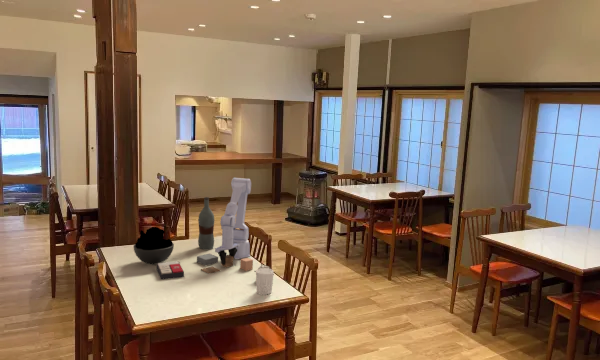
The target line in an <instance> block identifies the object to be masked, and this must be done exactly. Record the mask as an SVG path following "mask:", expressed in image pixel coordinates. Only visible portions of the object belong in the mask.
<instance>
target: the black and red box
mask: <svg viewBox="0 0 600 360" xmlns="http://www.w3.org/2000/svg"><path fill="white" fill-rule="evenodd" d="M156 272H157V274H158V276H159V279H160V280H161V281H162V280H171V279H179V278H184V277H185V271H184V270H183V266H182V265H181V263H180V262H179V261H177V260H175V261H167V262H165V261H163V262H161V263H157V264H156Z"/></svg>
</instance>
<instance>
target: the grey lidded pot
mask: <svg viewBox="0 0 600 360" xmlns="http://www.w3.org/2000/svg"><path fill="white" fill-rule="evenodd" d="M260 268H269V269H271V265H269V266H268V265H263V264H262V263H260V266H259V267H258V269H260ZM254 272H255V273H256V270H254ZM274 275H275V274H274V273H273V276H274Z"/></svg>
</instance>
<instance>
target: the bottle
mask: <svg viewBox="0 0 600 360" xmlns="http://www.w3.org/2000/svg"><path fill="white" fill-rule="evenodd" d="M203 200H204V201H203V203H204V204H203V205H204V206H203V208H202V209H201V211H200V212H199V214H198V221H197V222H198V230H199V231H198V240H197V244H198V248H199V249H200V250H205V251H206V250H211V249H213V248H214V246H215V236H214V228H215V215H214V212H213V211H212V209H211V208H210V207H209V206H210V197H207V196H206V197H204V198H203Z"/></svg>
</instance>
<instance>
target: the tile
mask: <svg viewBox="0 0 600 360" xmlns="http://www.w3.org/2000/svg"><path fill="white" fill-rule="evenodd" d="M200 271H201V272H204V273H206V274H213V273H218V272H220V271H221V269H219V268H217V267H215V266H213V265H212V266H208V267H204V268H203V267H202V268H200Z"/></svg>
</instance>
